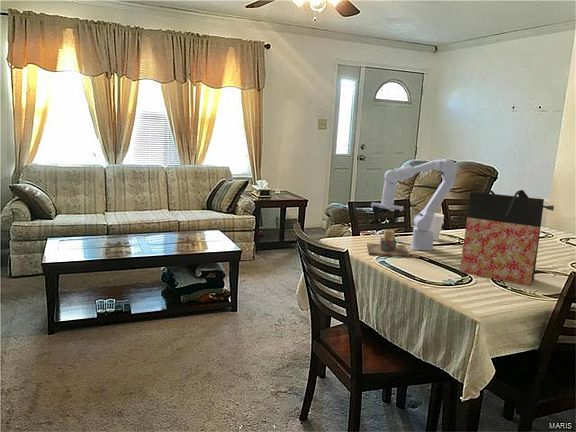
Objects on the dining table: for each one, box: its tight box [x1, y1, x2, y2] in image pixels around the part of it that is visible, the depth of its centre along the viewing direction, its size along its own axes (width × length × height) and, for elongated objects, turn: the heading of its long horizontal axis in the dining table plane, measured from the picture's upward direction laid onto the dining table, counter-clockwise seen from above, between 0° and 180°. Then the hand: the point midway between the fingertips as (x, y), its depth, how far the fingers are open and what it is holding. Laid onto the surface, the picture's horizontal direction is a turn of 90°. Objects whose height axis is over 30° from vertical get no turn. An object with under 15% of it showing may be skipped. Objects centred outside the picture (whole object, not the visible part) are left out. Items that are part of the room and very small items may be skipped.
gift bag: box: [459, 188, 555, 287], centre depth 179 cm, size 29×14×35 cm, turn 56°
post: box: [383, 229, 395, 241], centre depth 214 cm, size 4×4×8 cm
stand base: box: [366, 237, 411, 258], centre depth 215 cm, size 18×18×6 cm
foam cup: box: [429, 212, 445, 241], centre depth 241 cm, size 10×9×13 cm
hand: (384, 223), depth 221 cm, fingers open, 7 cm apart
